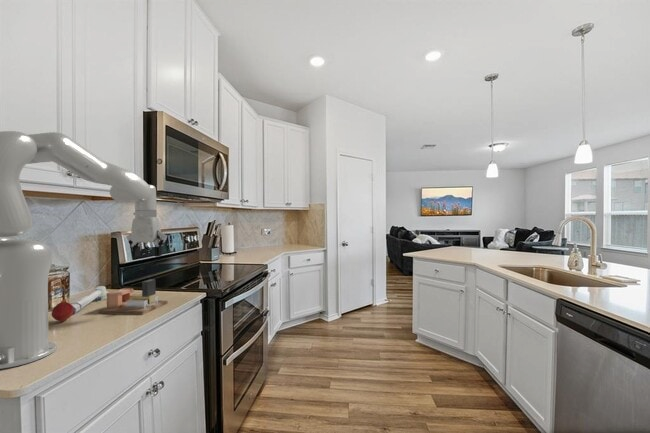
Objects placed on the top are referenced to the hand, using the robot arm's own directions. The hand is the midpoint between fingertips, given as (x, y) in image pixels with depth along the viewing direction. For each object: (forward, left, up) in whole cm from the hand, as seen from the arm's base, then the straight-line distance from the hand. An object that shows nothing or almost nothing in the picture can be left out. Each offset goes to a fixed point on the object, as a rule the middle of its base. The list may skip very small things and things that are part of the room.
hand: (147, 256), depth 113 cm
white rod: (+2, +30, -22) cm, 37 cm away
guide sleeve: (0, +3, -21) cm, 21 cm away
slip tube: (0, +3, -19) cm, 19 cm away
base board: (0, +6, -22) cm, 23 cm away
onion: (-16, +21, -22) cm, 34 cm away
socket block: (0, +13, -20) cm, 24 cm away
